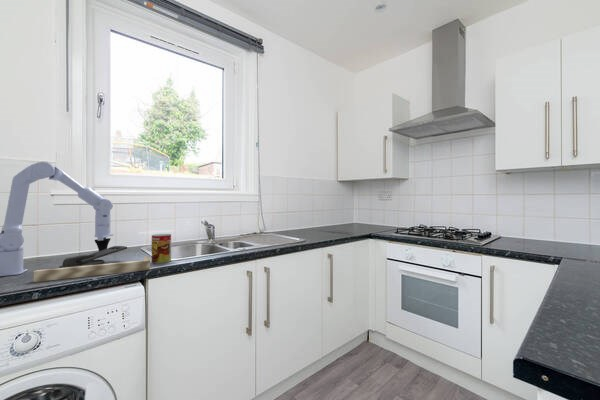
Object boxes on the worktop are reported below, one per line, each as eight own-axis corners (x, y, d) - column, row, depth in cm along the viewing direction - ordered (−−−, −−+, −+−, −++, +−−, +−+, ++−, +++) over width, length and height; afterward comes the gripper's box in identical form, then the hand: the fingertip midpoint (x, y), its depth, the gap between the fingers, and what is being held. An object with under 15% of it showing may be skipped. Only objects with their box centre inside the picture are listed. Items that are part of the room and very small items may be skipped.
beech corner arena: (33, 282, 91) (33, 271, 91) (46, 273, 102) (46, 264, 102) (150, 269, 107) (150, 260, 107) (149, 263, 119) (149, 255, 119)
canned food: (149, 261, 124) (149, 234, 124) (168, 258, 129) (168, 233, 129) (154, 263, 118) (154, 236, 118) (173, 261, 123) (173, 234, 123)
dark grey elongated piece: (129, 246, 126) (72, 256, 102) (129, 260, 126) (72, 274, 102) (114, 245, 128) (54, 255, 104) (114, 259, 128) (54, 272, 104)
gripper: (111, 225, 121) (111, 256, 121) (115, 223, 134) (114, 251, 134) (91, 226, 118) (91, 257, 118) (97, 224, 131) (97, 252, 130)
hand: (102, 254), depth 126 cm, fingers closed
